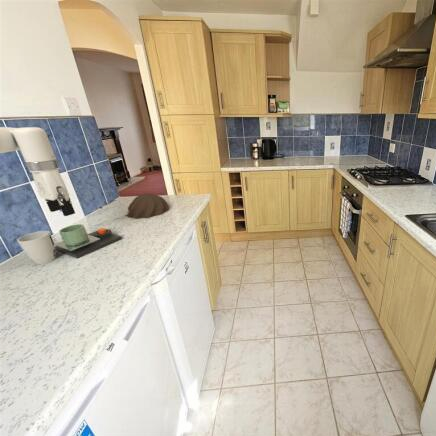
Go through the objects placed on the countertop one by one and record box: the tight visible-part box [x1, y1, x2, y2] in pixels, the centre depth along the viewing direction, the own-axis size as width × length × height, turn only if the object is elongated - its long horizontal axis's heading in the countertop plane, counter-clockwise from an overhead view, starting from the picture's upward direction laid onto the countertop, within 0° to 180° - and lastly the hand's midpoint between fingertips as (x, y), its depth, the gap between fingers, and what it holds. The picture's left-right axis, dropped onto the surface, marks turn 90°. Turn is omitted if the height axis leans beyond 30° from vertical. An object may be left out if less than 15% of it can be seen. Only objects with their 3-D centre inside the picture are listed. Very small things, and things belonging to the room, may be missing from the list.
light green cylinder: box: [58, 224, 89, 245], centre depth 93 cm, size 7×7×6 cm
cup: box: [17, 230, 57, 265], centre depth 86 cm, size 8×8×10 cm
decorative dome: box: [127, 192, 170, 220], centre depth 128 cm, size 19×20×10 cm
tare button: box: [96, 227, 107, 234], centre depth 101 cm, size 3×3×2 cm
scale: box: [54, 228, 123, 259], centre depth 98 cm, size 16×16×3 cm
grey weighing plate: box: [54, 235, 100, 251], centre depth 94 cm, size 12×10×1 cm
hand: (62, 212), depth 89 cm, fingers open, 9 cm apart
